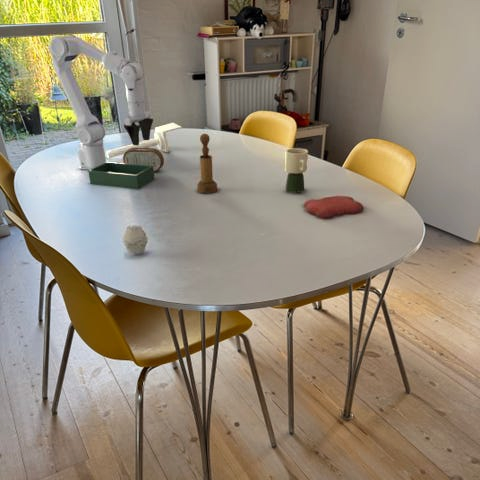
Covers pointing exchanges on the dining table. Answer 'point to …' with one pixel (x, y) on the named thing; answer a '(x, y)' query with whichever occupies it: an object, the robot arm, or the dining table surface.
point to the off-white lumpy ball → (135, 239)
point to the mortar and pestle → (206, 169)
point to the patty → (333, 206)
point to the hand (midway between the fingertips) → (141, 142)
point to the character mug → (295, 168)
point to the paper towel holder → (148, 141)
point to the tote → (121, 175)
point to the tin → (144, 157)
